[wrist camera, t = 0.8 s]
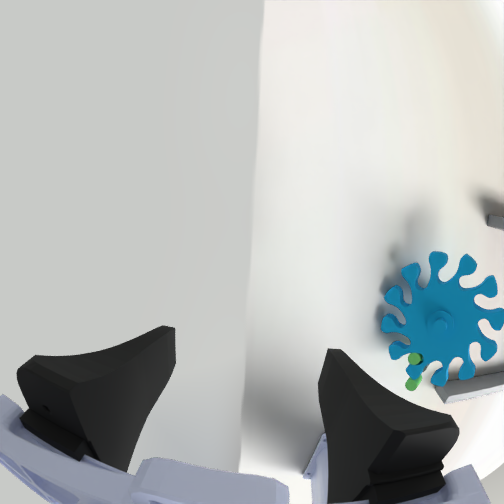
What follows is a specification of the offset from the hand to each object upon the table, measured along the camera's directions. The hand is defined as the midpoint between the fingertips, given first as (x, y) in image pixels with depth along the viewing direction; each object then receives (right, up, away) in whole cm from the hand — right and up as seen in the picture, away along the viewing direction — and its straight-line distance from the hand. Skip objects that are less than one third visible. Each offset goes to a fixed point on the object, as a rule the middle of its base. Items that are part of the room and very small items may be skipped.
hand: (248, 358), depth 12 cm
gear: (+14, 0, +8) cm, 16 cm away
